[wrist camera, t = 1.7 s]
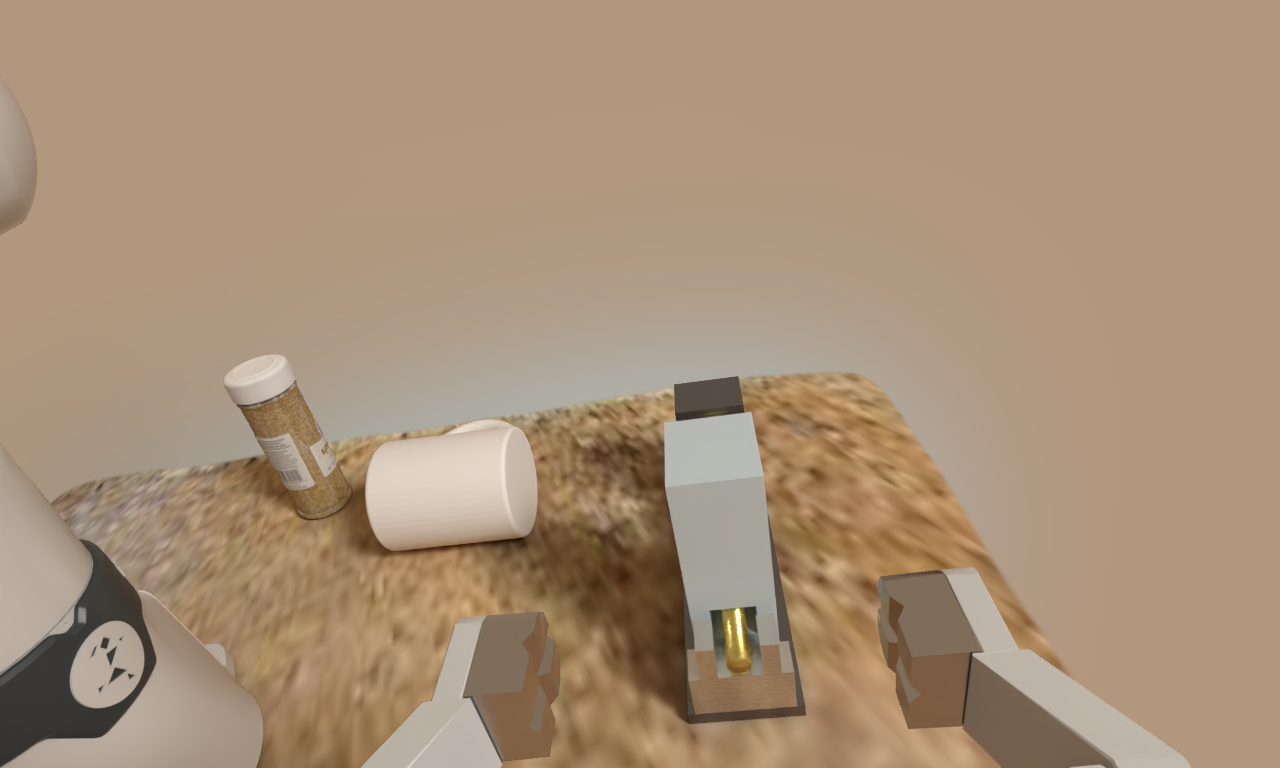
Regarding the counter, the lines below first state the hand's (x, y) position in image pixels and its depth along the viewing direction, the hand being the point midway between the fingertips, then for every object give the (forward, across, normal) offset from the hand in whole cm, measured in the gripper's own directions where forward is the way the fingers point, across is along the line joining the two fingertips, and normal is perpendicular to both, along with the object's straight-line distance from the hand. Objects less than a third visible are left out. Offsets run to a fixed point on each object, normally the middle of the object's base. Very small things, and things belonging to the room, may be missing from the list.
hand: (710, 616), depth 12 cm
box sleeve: (+18, 0, +22) cm, 29 cm away
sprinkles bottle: (+35, +33, +24) cm, 54 cm away
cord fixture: (+23, 0, +24) cm, 33 cm away
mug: (+32, +19, +24) cm, 45 cm away
